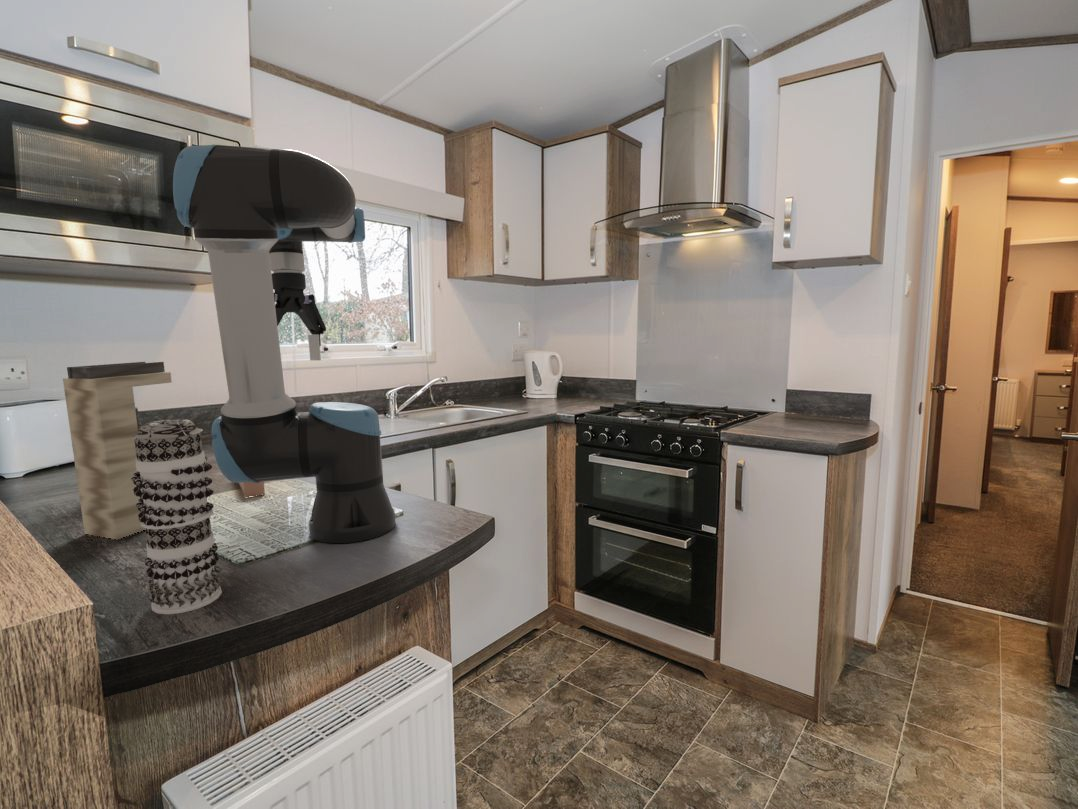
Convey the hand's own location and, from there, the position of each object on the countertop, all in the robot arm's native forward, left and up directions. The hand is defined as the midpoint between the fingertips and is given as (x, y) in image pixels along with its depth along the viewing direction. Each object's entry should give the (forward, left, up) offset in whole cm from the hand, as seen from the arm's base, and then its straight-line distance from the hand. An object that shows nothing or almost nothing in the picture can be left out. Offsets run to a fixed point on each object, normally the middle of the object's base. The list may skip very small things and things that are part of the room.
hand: (295, 362), depth 139 cm
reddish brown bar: (+7, +10, -29) cm, 32 cm away
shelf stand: (+6, +37, -29) cm, 47 cm away
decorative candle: (-32, +56, -29) cm, 71 cm away
